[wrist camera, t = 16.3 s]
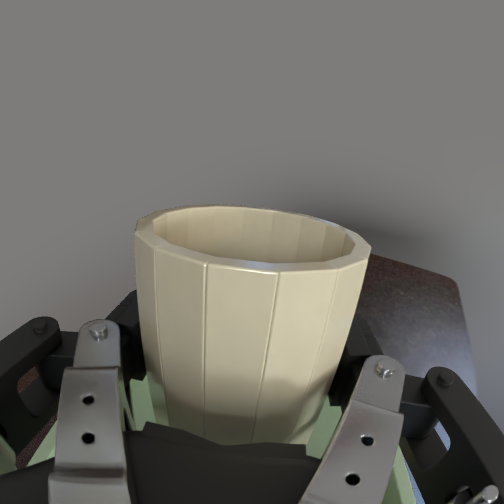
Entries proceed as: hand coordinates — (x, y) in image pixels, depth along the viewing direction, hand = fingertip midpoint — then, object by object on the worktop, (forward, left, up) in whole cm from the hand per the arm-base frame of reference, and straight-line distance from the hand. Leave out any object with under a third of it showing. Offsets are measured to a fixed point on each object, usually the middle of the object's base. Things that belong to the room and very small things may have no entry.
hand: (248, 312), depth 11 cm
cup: (0, -2, -6) cm, 6 cm away
